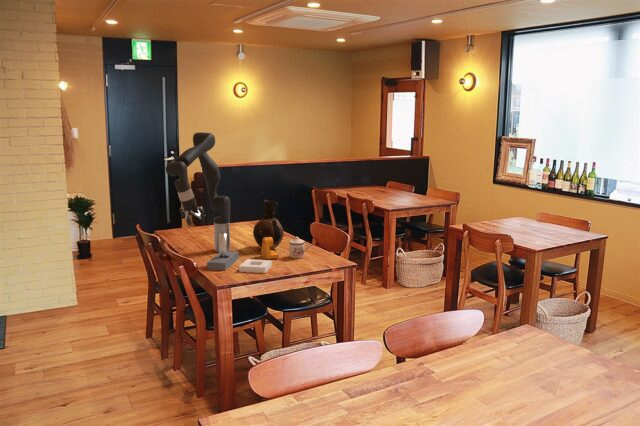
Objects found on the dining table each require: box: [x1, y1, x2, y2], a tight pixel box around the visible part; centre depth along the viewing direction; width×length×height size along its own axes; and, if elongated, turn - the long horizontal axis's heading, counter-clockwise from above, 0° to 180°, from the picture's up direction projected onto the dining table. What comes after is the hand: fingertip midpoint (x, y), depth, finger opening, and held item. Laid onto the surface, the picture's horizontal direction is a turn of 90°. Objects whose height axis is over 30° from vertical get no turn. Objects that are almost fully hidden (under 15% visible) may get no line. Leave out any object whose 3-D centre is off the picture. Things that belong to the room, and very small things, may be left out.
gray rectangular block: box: [206, 250, 240, 271], centre depth 314 cm, size 24×10×4 cm, turn 171°
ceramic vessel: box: [252, 199, 285, 250], centre depth 346 cm, size 21×18×30 cm
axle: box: [219, 233, 227, 258], centre depth 313 cm, size 4×4×17 cm
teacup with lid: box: [288, 236, 310, 259], centre depth 330 cm, size 12×9×12 cm
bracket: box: [260, 237, 280, 260], centre depth 327 cm, size 11×7×12 cm, turn 24°
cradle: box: [238, 258, 273, 274], centre depth 305 cm, size 14×14×3 cm
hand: (196, 224), depth 303 cm, fingers open, 8 cm apart
